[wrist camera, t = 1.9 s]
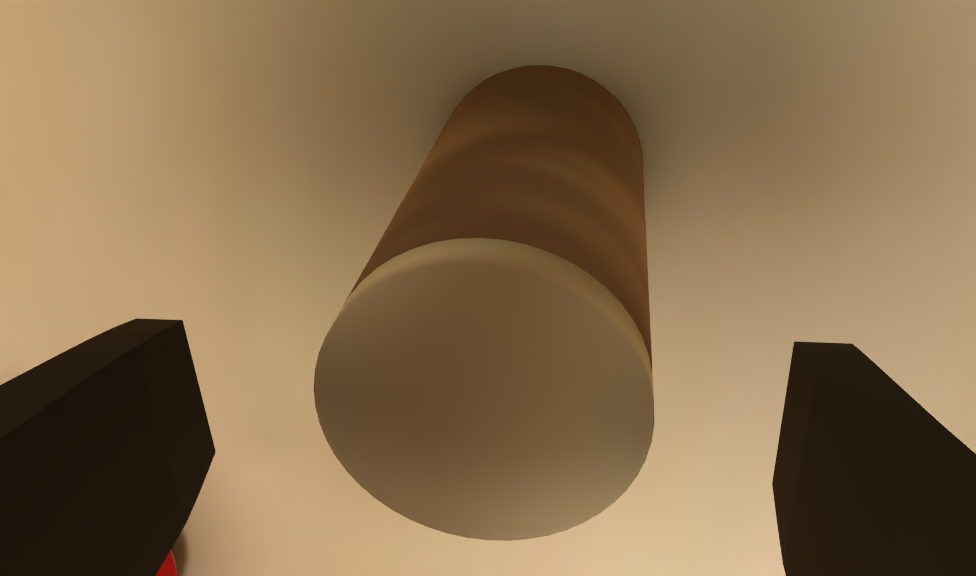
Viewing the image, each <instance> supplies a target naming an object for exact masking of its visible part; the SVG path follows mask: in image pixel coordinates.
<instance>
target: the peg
mask: <svg viewBox="0 0 976 576" xmlns="http://www.w3.org/2000/svg"><path fill="white" fill-rule="evenodd" d="M314 395H315V406H316V410H317V414H318V418H319V422H320V425H321V427H322V430H323V432H324V435H325V437H326V440H327V442H328V443H329V445H330V447H331V449H332V450H333V452H334V454H335V456H336V457H337V459H338V460H339V461H340V463H341V464H342V465H343V467H344V468H345V469H346V471H347V472H348V473H349V474H350V475H351V476H352V477H353V478H354V479H355V480H356V481H357V482H358V484H359V485H360V486H362V487H363V488H364V489H365V490H366V491H367V492H369V493H370V494H371V495H372V496H373V497H374V498H376V499H377V500H379V501H380V502H382V503H383V504H385V505H386V506H387V507H389V508H390V509H392V510H394V511H395V512H397V513H399V514H401V515H403V516H405V517H406V518H408V519H410V520H413V521H415V522H417V523H420V524H422V525H424V526H427V527H429V528H433V529H436V530H439V531H442V532H445V533H449V534H453V535H458V536H462V537H467V538H475V539H483V540H507V541H508V540H521V539H531V538H536V537H542V536H547V535H551V534H554V533H557V532H561V531H564V530H567V529H569V528H572V527H574V526H577V525H579V524H581V523H584V522H585V521H587V520H589V519H591V518H592V517H594V516H596V515H598V514H599V513H601V512H602V511H603V510H605V509H606V508H607V507H609V506H610V505H611V504H613V503H614V502H615V501H616V500H617V499H618V498H619V497H620V496H621V495H622V494H623V493H624V492H625V491H626V490H627V489H628V487H629V486H630V485H631V483H632V482H633V481H634V479H635V478H636V476H637V475H638V473H639V471H640V469H641V467H642V466H643V464H644V462H645V460H646V457H647V454H648V451H649V448H650V445H651V442H652V435H653V428H654V399H653V377H652V356H651V335H650V313H649V292H648V270H647V249H646V227H645V206H644V185H643V163H642V151H641V145H640V141H639V137H638V134H637V131H636V129H635V126H634V124H633V122H632V120H631V118H630V116H629V115H628V113H627V112H626V110H625V109H624V107H623V106H622V105H621V104H620V103H619V101H618V100H617V99H616V98H615V97H614V96H613V95H612V94H611V93H610V92H609V91H607V90H606V89H605V88H604V87H603V86H601V85H600V84H598V83H596V82H595V81H593V80H592V79H590V78H588V77H586V76H584V75H582V74H580V73H577V72H574V71H571V70H568V69H564V68H558V67H553V66H524V67H519V68H515V69H510V70H507V71H504V72H502V73H499V74H496V75H494V76H493V77H491V78H489V79H487V80H485V81H484V82H482V83H481V84H479V85H478V86H476V87H475V88H474V89H473V90H472V91H470V92H469V93H468V94H467V95H466V96H465V97H464V98H463V100H462V101H461V102H460V103H459V104H458V106H457V107H456V109H455V110H454V112H453V114H452V115H451V117H450V119H449V120H448V122H447V124H446V126H445V127H444V129H443V131H442V133H441V134H440V136H439V138H438V140H437V141H436V143H435V145H434V147H433V149H432V150H431V152H430V154H429V156H428V157H427V159H426V161H425V163H424V164H423V166H422V168H421V170H420V171H419V173H418V175H417V177H416V178H415V180H414V182H413V184H412V186H411V187H410V189H409V191H408V193H407V194H406V196H405V198H404V200H403V201H402V203H401V205H400V207H399V208H398V210H397V212H396V214H395V215H394V217H393V219H392V221H391V223H390V224H389V226H388V228H387V230H386V231H385V233H384V235H383V237H382V238H381V240H380V242H379V244H378V245H377V247H376V249H375V251H374V252H373V254H372V256H371V258H370V260H369V261H368V263H367V265H366V267H365V268H364V270H363V272H362V274H361V275H360V277H359V279H358V281H357V282H356V284H355V286H354V288H353V289H352V291H351V293H350V295H349V297H348V298H347V300H346V302H345V304H344V305H343V307H342V309H341V311H340V312H339V314H338V316H337V318H336V319H335V321H334V323H333V325H332V326H331V328H330V330H329V332H328V334H327V335H326V337H325V340H324V342H323V345H322V347H321V349H320V352H319V355H318V360H317V364H316V368H315V378H314Z"/></svg>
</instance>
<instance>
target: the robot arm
mask: <svg viewBox="0 0 976 576" xmlns="http://www.w3.org/2000/svg"><path fill="white" fill-rule="evenodd" d="M214 454H215V448H214V444H213V440H212V436H211V432H210V428H209V424H208V420H207V416H206V412H205V408H204V404H203V400H202V396H201V392H200V388H199V384H198V380H197V376H196V372H195V368H194V364H193V360H192V356H191V352H190V348H189V345H188V341H187V337H186V333H185V329H184V325H183V321H182V320H160V319H134V320H132V321H129V322H126V323H124V324H121V325H119V326H117V327H114V328H112V329H110V330H108V331H105V332H103V333H101V334H99V335H97V336H95V337H93V338H91V339H89V340H87V341H85V342H83V343H81V344H79V345H77V346H75V347H73V348H71V349H69V350H67V351H65V352H63V353H61V354H59V355H57V356H55V357H54V358H52V359H50V360H48V361H46V362H44V363H42V364H40V365H38V366H36V367H34V368H33V369H31V370H29V371H27V372H25V373H23V374H21V375H19V376H17V377H15V378H13V379H11V380H10V381H8V382H6V383H4V384H2V385H0V576H156V574H157V573H158V571H159V569H160V567H161V566H162V564H163V562H164V561H165V559H166V557H167V555H168V554H169V552H170V550H171V549H172V547H173V545H174V543H175V542H176V540H177V538H178V536H179V535H180V533H181V531H182V529H183V528H184V526H185V524H186V522H187V520H188V517H189V515H190V513H191V511H192V508H193V506H194V504H195V502H196V499H197V497H198V495H199V492H200V490H201V487H202V485H203V482H204V480H205V477H206V475H207V472H208V470H209V467H210V465H211V462H212V459H213V457H214ZM772 485H773V493H774V501H775V508H776V516H777V524H778V532H779V538H780V545H781V552H782V559H783V565H784V569H785V573H786V576H976V454H975V453H974V452H973V451H971V450H970V449H969V448H968V447H967V446H966V445H965V444H963V443H962V442H961V441H960V440H959V439H958V438H956V437H955V436H954V435H953V434H952V433H951V432H950V431H948V430H947V429H946V428H945V427H944V426H943V425H942V424H941V423H939V422H938V421H937V420H936V419H935V418H934V417H933V416H932V415H931V414H929V413H928V412H927V411H926V410H925V409H924V408H923V407H922V406H921V405H919V404H918V403H917V402H916V401H915V400H914V399H913V398H912V397H911V396H910V395H909V394H907V393H906V392H905V391H904V390H903V389H902V388H901V387H900V386H899V385H898V384H897V383H895V382H894V381H893V380H892V379H891V378H890V377H889V376H888V375H887V374H886V373H885V372H883V371H882V370H881V369H880V368H879V367H878V366H877V365H876V364H875V363H874V362H873V361H871V360H870V359H869V358H868V357H867V356H866V355H865V354H864V353H862V352H861V351H860V350H859V349H858V348H857V347H855V346H854V345H853V344H844V343H815V342H794V346H793V353H792V359H791V366H790V372H789V379H788V385H787V392H786V398H785V405H784V411H783V418H782V424H781V431H780V437H779V444H778V450H777V457H776V463H775V470H774V476H773V483H772Z"/></svg>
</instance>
